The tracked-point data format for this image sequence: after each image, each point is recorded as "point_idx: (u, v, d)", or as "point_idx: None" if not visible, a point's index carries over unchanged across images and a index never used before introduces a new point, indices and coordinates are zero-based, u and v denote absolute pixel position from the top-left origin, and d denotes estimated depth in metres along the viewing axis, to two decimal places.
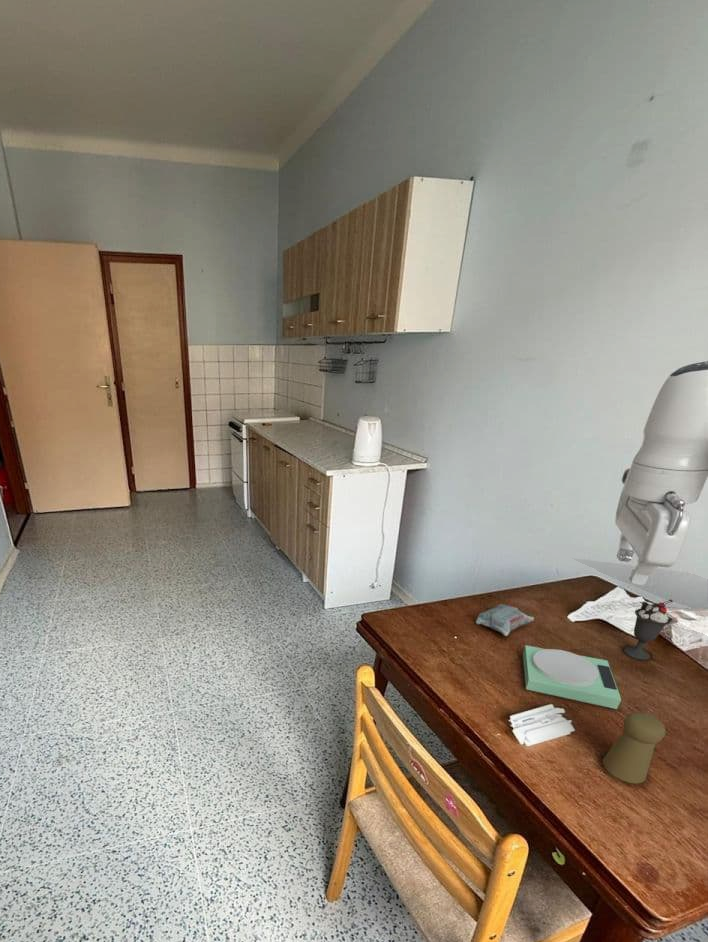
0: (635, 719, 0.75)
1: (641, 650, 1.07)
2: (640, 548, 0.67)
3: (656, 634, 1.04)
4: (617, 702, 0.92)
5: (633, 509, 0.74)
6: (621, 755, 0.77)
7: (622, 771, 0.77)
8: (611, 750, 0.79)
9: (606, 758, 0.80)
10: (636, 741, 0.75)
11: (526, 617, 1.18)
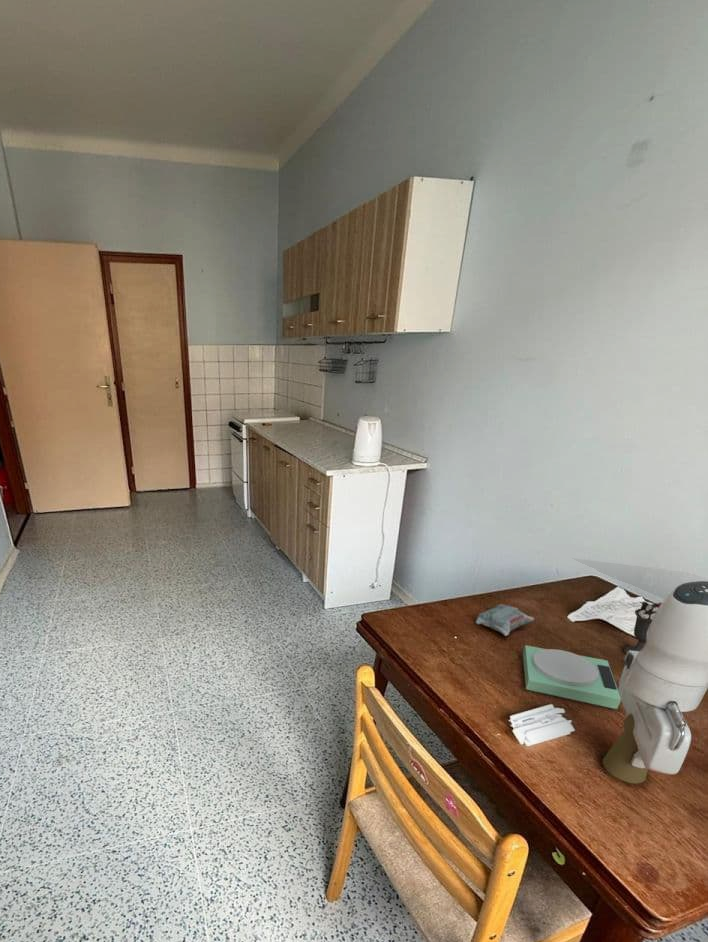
0: None
1: None
2: (643, 749, 0.70)
3: None
4: (617, 702, 0.92)
5: None
6: (621, 755, 0.77)
7: (622, 771, 0.77)
8: (611, 750, 0.79)
9: (606, 758, 0.80)
10: None
11: (526, 617, 1.18)
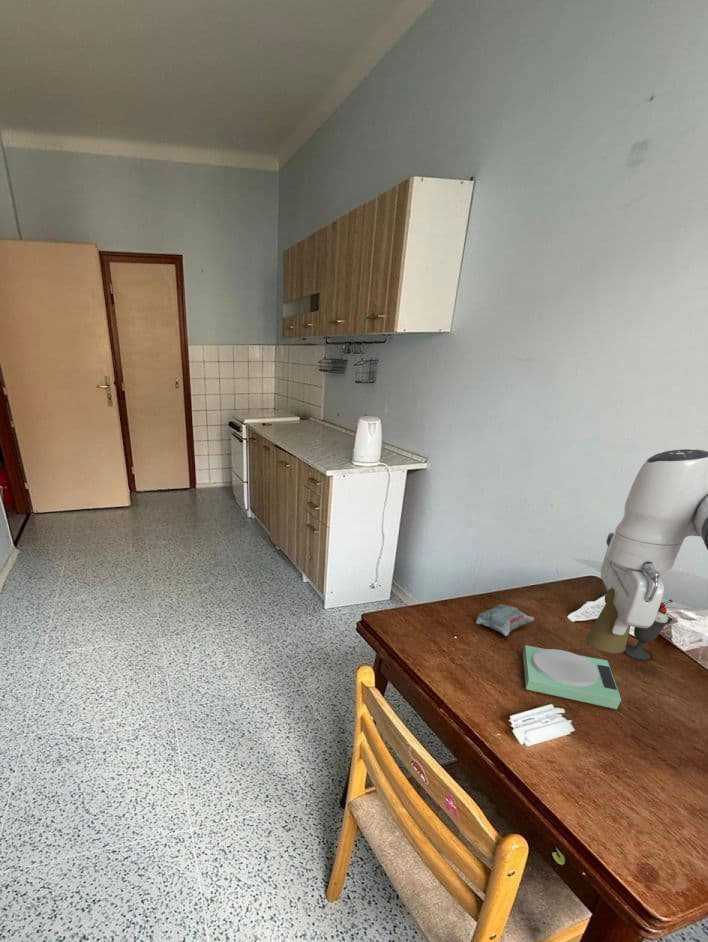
0: None
1: (641, 650, 1.07)
2: (621, 610, 0.76)
3: (656, 634, 1.04)
4: (617, 702, 0.92)
5: (616, 570, 0.83)
6: (602, 627, 0.83)
7: (603, 642, 0.83)
8: (593, 626, 0.85)
9: (589, 634, 0.86)
10: (616, 611, 0.81)
11: (526, 617, 1.18)
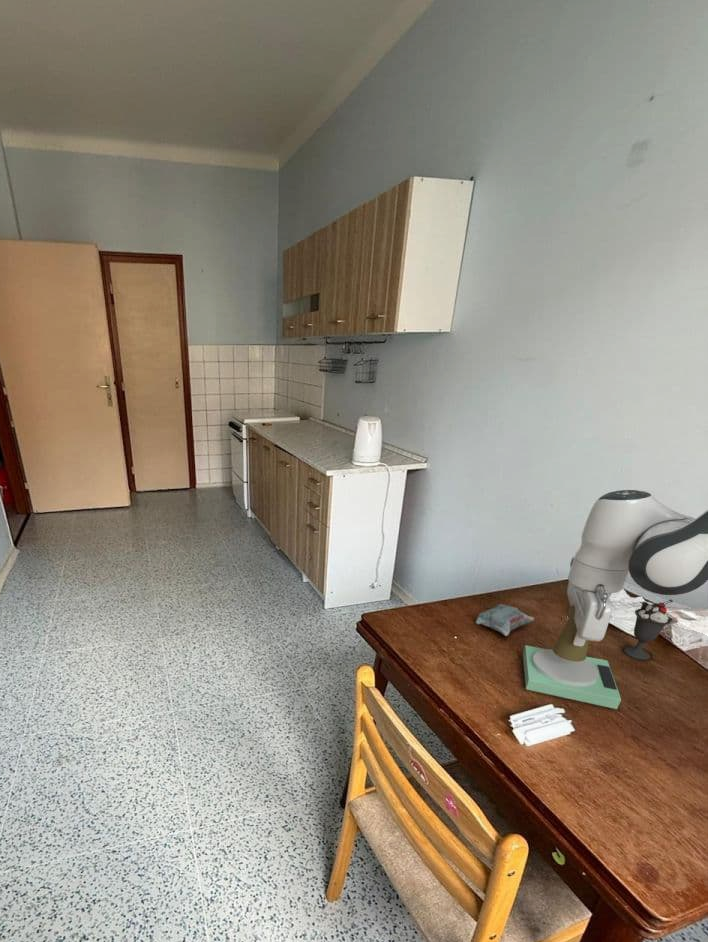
0: None
1: (641, 650, 1.07)
2: (578, 625, 0.88)
3: (656, 634, 1.04)
4: (617, 702, 0.92)
5: None
6: (565, 639, 0.96)
7: (566, 652, 0.96)
8: None
9: (555, 645, 0.99)
10: None
11: (526, 617, 1.18)
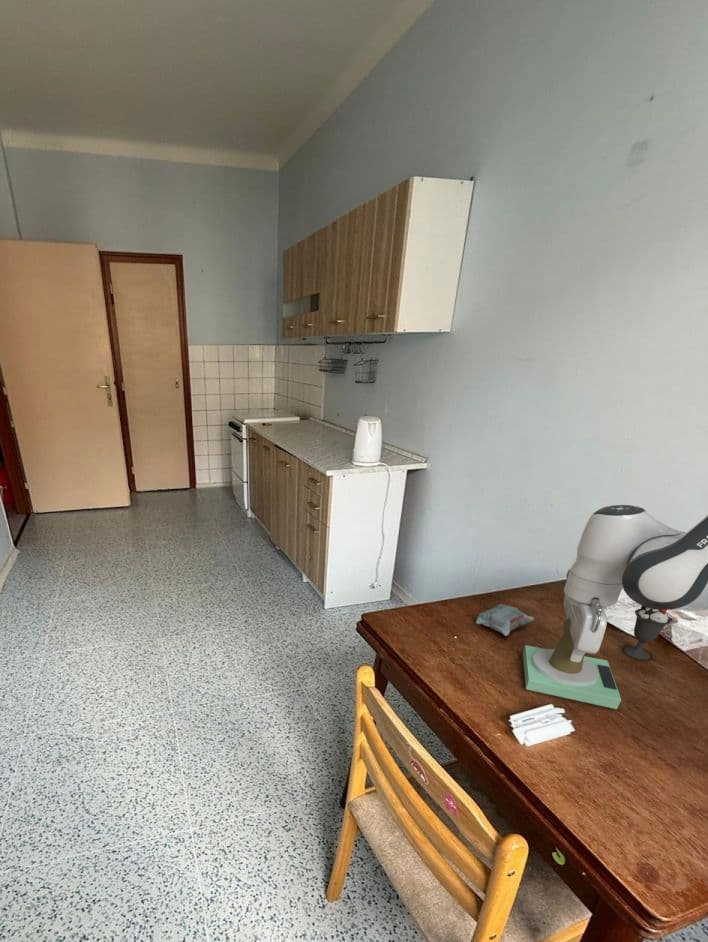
0: None
1: (641, 650, 1.07)
2: (574, 637, 0.90)
3: (656, 634, 1.04)
4: (617, 702, 0.92)
5: None
6: (561, 651, 0.97)
7: (562, 664, 0.97)
8: (555, 650, 0.99)
9: (551, 657, 1.00)
10: None
11: (526, 617, 1.18)
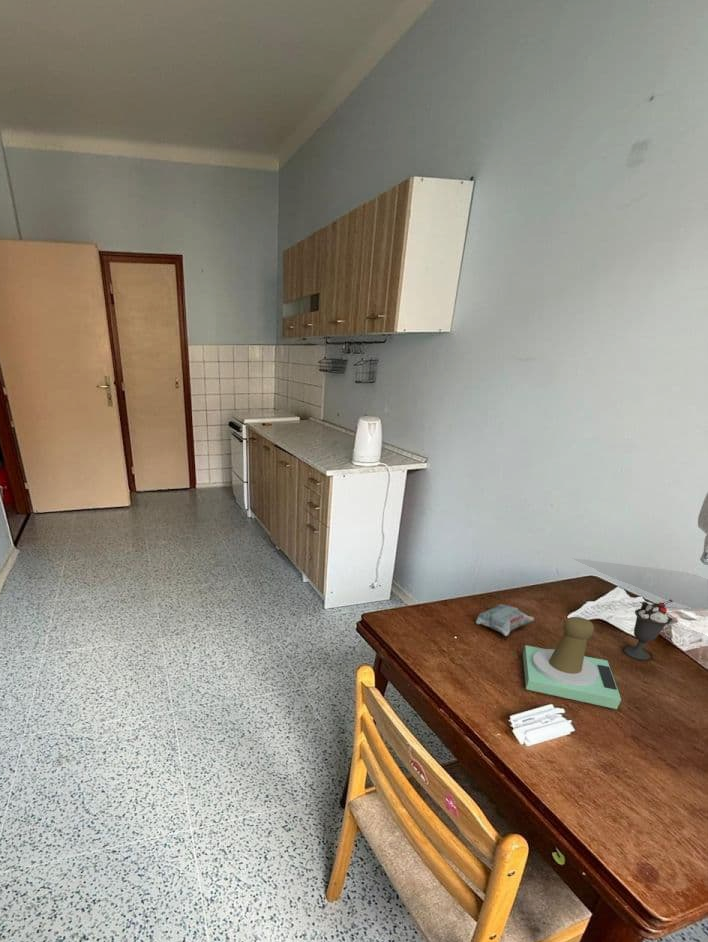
0: (571, 620, 0.95)
1: (641, 650, 1.07)
2: None
3: (656, 634, 1.04)
4: (617, 702, 0.92)
5: None
6: (561, 651, 0.97)
7: (562, 664, 0.97)
8: (555, 650, 0.99)
9: (551, 657, 1.00)
10: (572, 638, 0.95)
11: (526, 617, 1.18)
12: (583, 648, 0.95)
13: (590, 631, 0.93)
